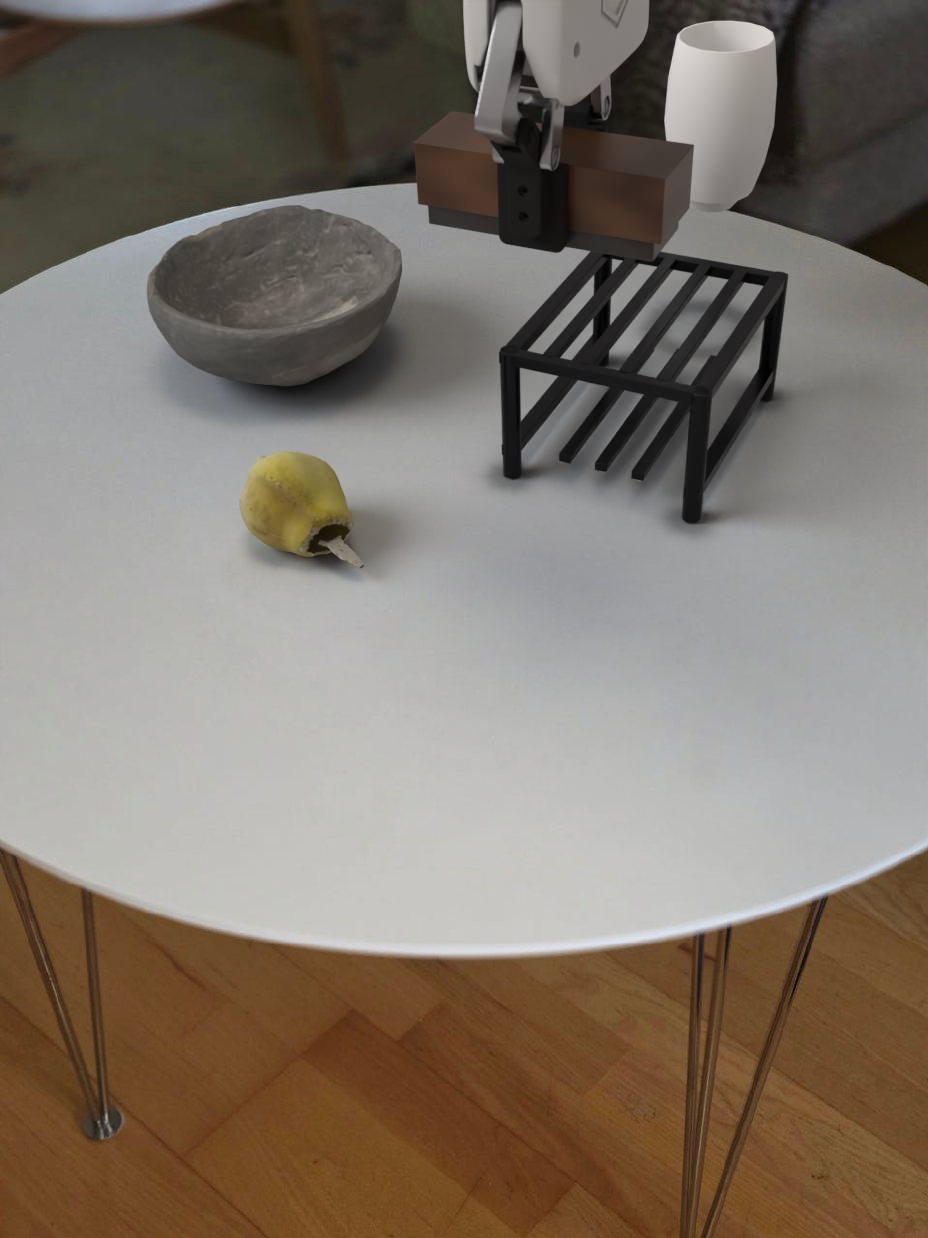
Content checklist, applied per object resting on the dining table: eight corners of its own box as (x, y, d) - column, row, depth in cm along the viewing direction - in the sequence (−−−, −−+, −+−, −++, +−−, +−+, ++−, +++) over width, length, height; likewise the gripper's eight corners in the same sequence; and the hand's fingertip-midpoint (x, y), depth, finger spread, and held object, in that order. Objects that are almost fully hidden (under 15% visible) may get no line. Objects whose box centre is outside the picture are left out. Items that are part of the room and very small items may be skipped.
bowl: (201, 454, 91) (180, 347, 85) (137, 337, 103) (115, 238, 98) (449, 387, 96) (443, 282, 91) (359, 283, 108) (349, 185, 103)
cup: (665, 356, 98) (684, 59, 84) (642, 308, 103) (656, 22, 90) (764, 346, 98) (798, 49, 85) (736, 299, 104) (764, 13, 90)
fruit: (324, 607, 78) (206, 523, 82) (392, 579, 83) (277, 500, 87) (345, 522, 75) (222, 439, 79) (414, 497, 80) (294, 420, 84)
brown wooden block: (688, 228, 63) (694, 144, 61) (659, 265, 61) (664, 178, 58) (455, 191, 68) (451, 110, 65) (418, 224, 65) (413, 141, 62)
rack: (775, 394, 93) (790, 272, 87) (697, 525, 83) (708, 397, 77) (595, 356, 98) (598, 239, 92) (499, 476, 87) (496, 352, 81)
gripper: (563, -178, 45) (559, 320, 57) (716, -265, 56) (686, 166, 68) (363, -189, 48) (400, 290, 60) (548, -270, 59) (548, 146, 71)
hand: (553, 220), depth 64 cm, fingers closed on brown wooden block, 4 cm apart
